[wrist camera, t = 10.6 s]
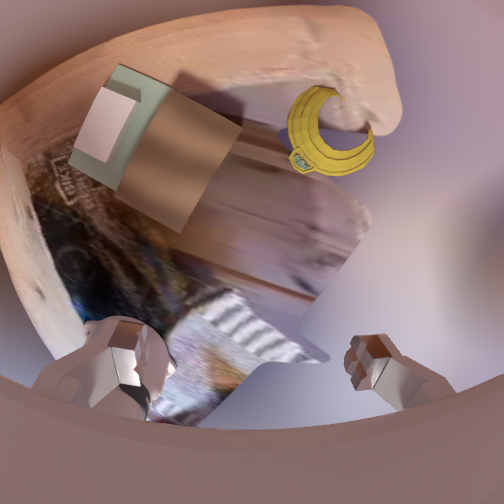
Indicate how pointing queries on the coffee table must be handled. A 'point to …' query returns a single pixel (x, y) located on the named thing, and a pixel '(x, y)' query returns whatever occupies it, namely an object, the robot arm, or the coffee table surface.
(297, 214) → the coffee table surface
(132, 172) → the wooden block
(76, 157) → the mat
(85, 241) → the coffee table surface
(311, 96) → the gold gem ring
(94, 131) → the tile
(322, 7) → the coffee table surface
